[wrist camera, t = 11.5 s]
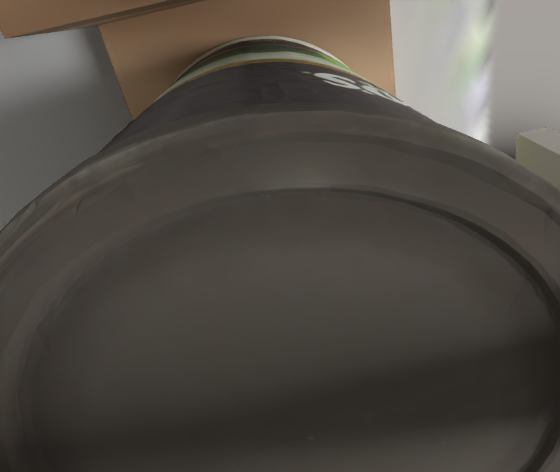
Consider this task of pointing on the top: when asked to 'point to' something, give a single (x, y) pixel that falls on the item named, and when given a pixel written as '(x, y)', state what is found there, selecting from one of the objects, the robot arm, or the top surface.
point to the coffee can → (283, 288)
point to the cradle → (209, 33)
